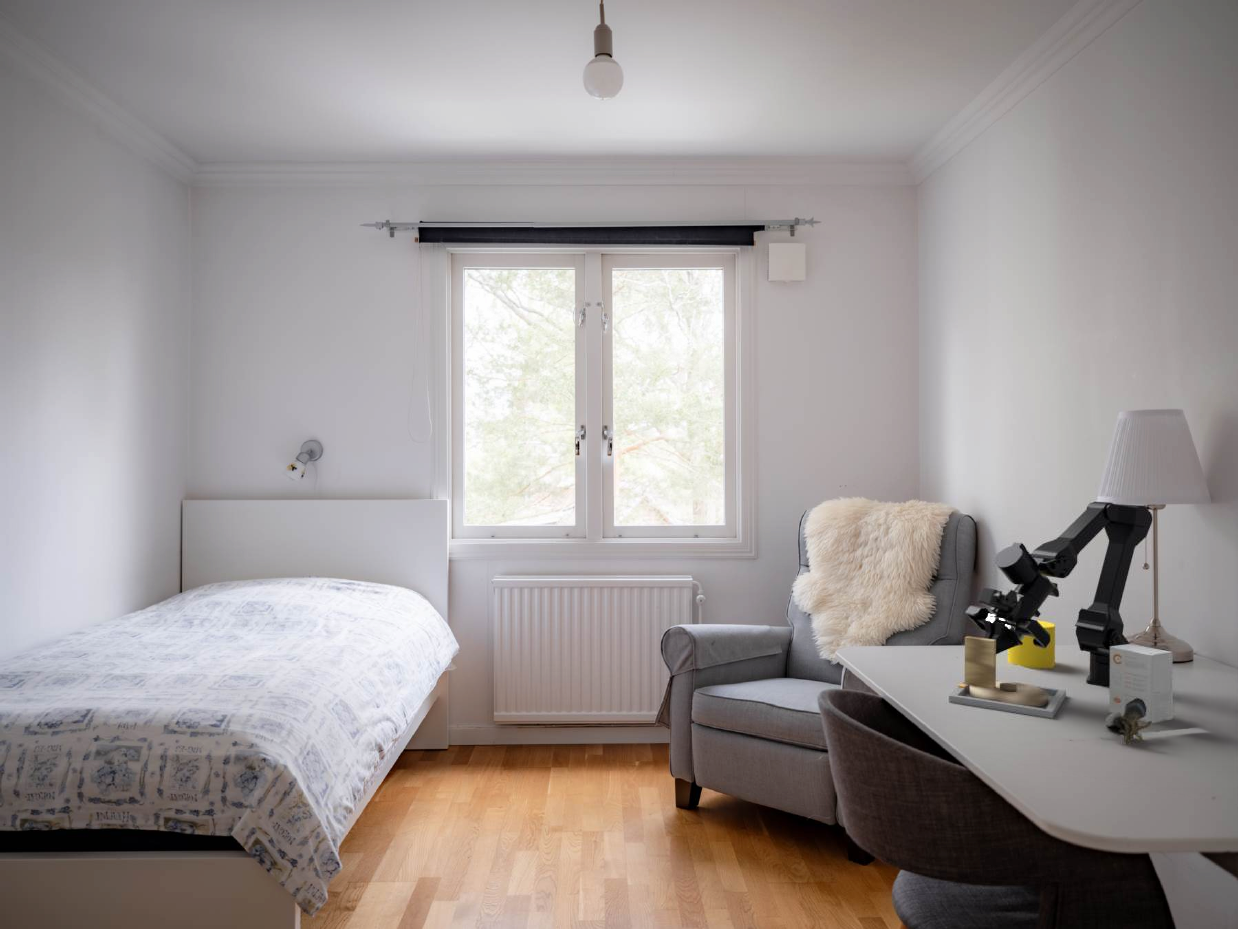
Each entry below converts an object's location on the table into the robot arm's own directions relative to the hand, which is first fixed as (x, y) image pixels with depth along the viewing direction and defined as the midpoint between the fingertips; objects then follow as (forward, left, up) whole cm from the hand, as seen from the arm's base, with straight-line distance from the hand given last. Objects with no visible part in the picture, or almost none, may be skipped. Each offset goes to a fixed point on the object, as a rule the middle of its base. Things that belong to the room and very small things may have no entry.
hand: (982, 657), depth 170 cm
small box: (-2, +27, -8) cm, 28 cm away
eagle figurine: (+12, +26, -8) cm, 30 cm away
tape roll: (-38, +3, -8) cm, 39 cm away
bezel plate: (+1, +5, -8) cm, 10 cm away
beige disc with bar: (+1, +5, -7) cm, 9 cm away
